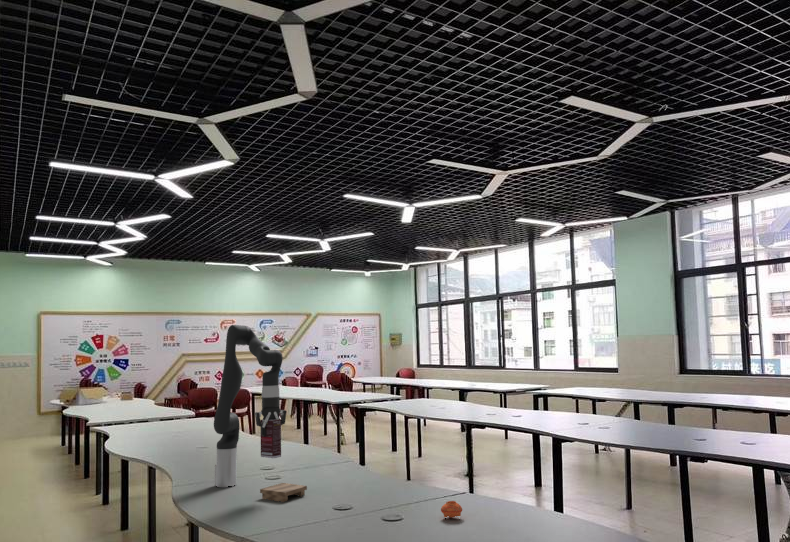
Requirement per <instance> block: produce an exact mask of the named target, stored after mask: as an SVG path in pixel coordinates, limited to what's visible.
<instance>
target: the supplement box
mask: <svg viewBox="0 0 790 542" xmlns="http://www.w3.org/2000/svg"><path fill="white" fill-rule="evenodd" d="M262 420H263V419H260V421H261V423H262ZM281 457H282V425H281V419H280V418H279V419H274V420H272V419H271V420H268V422H267V423H266V425H265V436H264V437H263V436H262V435H261V434H260V458H269V459H278V458H281Z"/></svg>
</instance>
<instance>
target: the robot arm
mask: <svg viewBox="0 0 790 542" xmlns="http://www.w3.org/2000/svg"><path fill="white" fill-rule="evenodd" d="M237 346H248V350H249V352H250V353H251V355H252V356H254V357H255V358H256V360H257V362H258V364H259V365H260V366H262V367H270V370H268V371H265V372H264V373H262V376H261V377H262V379H261V381H262V384H261V385H262V389H261V411H255V412H254V418H255V423H256V425H255V426H257V427H260V436H261V435H262V436H263V437H264V436H265V425H266V423H267V422H268V420H271V419H272V420H274V419H279V420H281V426H282V425H285V424H286V419H287V418H286V417H287V413H288V412H287V410H286V409H280V408H281V407H280V385H279V383H280V381H279V380H280V377H279V376H280V373H281V368H282V364H283V359H284V357H283V354H282V352H281V351H280V350H278V349H270V346H268V345H267V344H266V343H264V342H263V341H262V340H261V339H259V337H258V336H257V334H256V333H255V332H254V331H253V329H252V328H251V327H249V326H247V325H238V324H231V325H230V326H229V327H228V328H227V332H226V341H225V356H224V357H225V358H224V365H223V369H222V375H221V382H220V383H221V384H220V392H219V396H218V402H217V407H216V412H215V415H214V419H213V429H214V431H215V432H216V434H218V435H222V436H221V437H220V438H219V440H218V441H217V443H216V464H215V465H214V486H215V485H216V486H217V488H229V487H228V486H232V487H235V486H237V472H238V470H237V469H238V468H237V466H238V465H237V464H238V463H237V460H238V457H237V456H238V453H237V452H238V448H237V447H238V443H239V439H240V418H239V416H238V415H237V414H236V413H235V412H231V410H232V406H233V403H234V401H235V399H236V398H237V396H238V393H239V392H240V390H241V387H242V381H243V374H244V373H243V369H242V367H241V364H240V363H239V360H238V358H237V354H236V352H237V351H236V348H237ZM279 415H280V417H279ZM261 417H263V418H262V419H261ZM261 420H262V423H261ZM234 485H235V486H234ZM216 486H215V487H216Z"/></svg>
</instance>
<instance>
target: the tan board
mask: <svg viewBox="0 0 790 542" xmlns="http://www.w3.org/2000/svg"><path fill="white" fill-rule="evenodd" d="M307 490H308V486H307V485H303V484H302V485H301V484H293V483H286V482H281V483H278V484H274V485H270V486H265V487H263V488H260V489H259V493H260V494H262V495H261V497H262V500H266V499H268V500H267V501H273V500H274V501H273V502H279V501H281V502H280V503H285V501H286V502H288V499H289V498H288V496H294V495H299V496H298V497H303V496H302V495H304V496H305V491H307Z"/></svg>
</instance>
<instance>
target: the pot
mask: <svg viewBox="0 0 790 542" xmlns="http://www.w3.org/2000/svg"><path fill="white" fill-rule="evenodd" d="M462 511H463V507H462V506H461V504H460V503H458V502H457V501H456V500H450V501H446V502H445V503H444V504H443V505H442V506H441V508H440V512H441V513H442V514H443V517H447V516H449V517H447V518H456V517H457V516H461V515H462ZM455 516H456V517H455ZM461 517H462V516H461Z"/></svg>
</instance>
